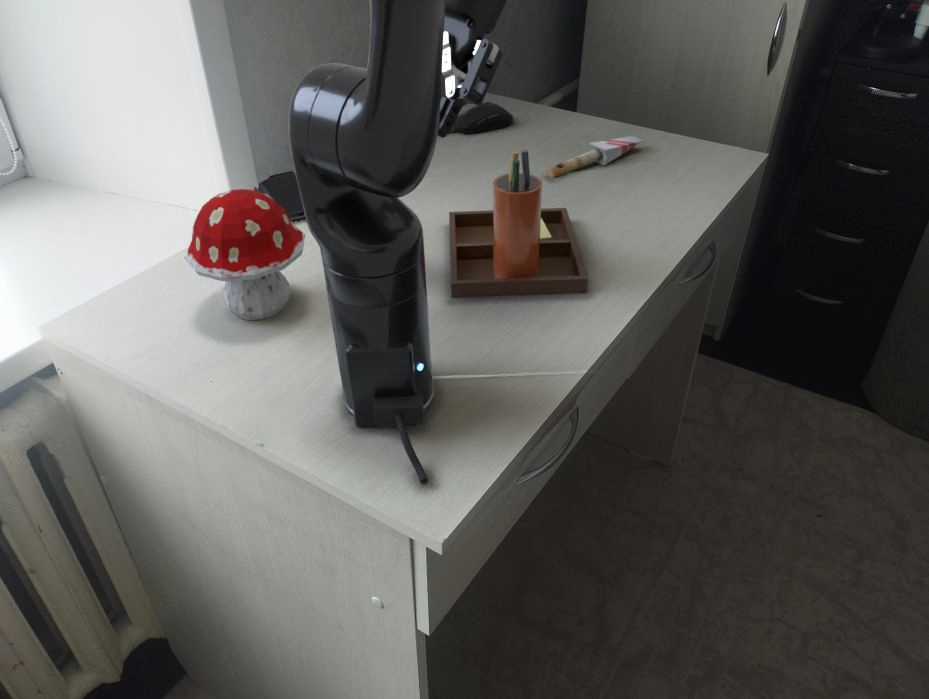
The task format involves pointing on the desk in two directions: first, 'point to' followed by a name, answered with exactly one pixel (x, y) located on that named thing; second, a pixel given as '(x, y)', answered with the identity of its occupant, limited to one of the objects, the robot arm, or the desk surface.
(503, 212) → the pencil cup
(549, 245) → the divider
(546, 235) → the note pad
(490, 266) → the tray
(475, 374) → the desk surface
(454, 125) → the gaming mouse
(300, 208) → the phone
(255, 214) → the decorative mushroom
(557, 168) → the wrapped churro
